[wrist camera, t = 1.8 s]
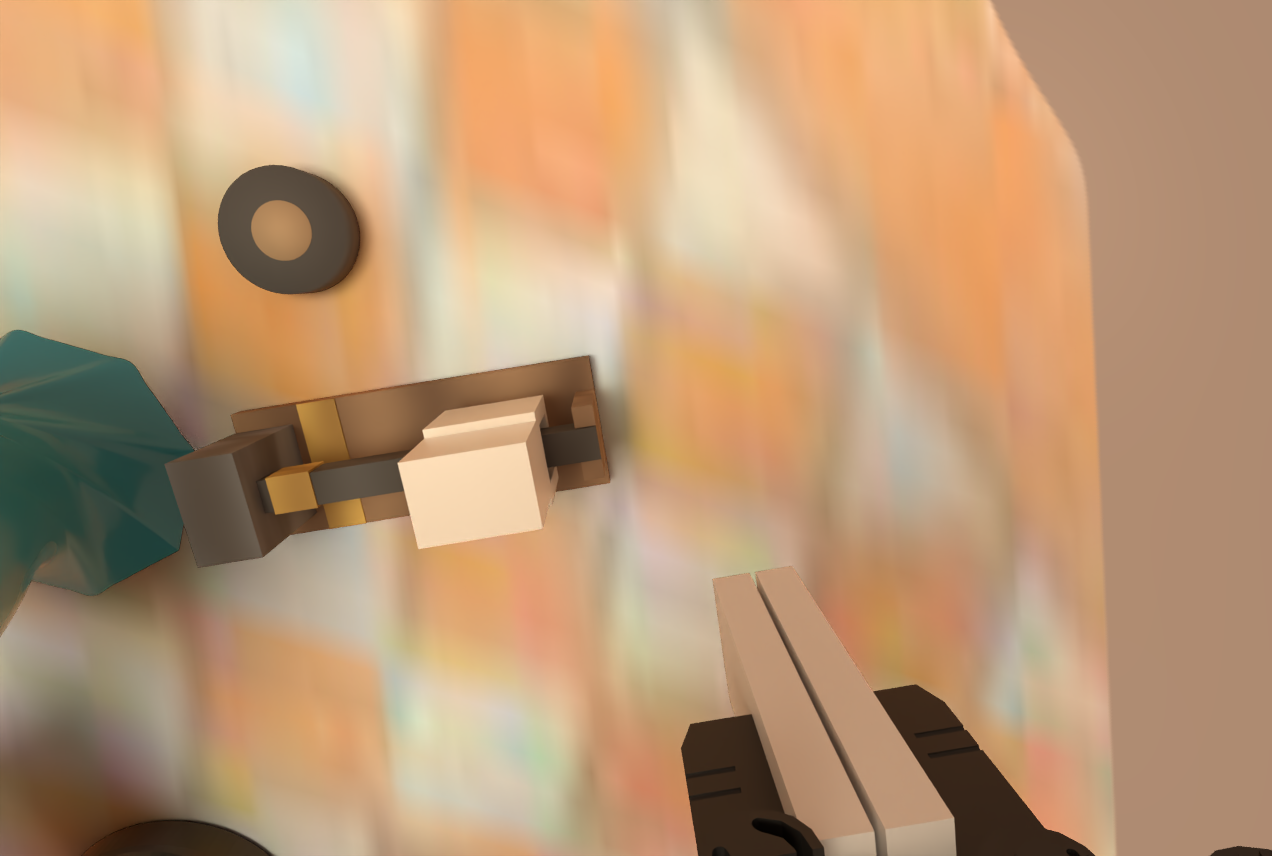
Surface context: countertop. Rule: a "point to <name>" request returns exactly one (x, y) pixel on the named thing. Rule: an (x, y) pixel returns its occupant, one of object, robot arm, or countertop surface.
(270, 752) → the countertop surface
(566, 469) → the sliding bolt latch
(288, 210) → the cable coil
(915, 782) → the robot arm
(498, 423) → the sleeve
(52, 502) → the vase
